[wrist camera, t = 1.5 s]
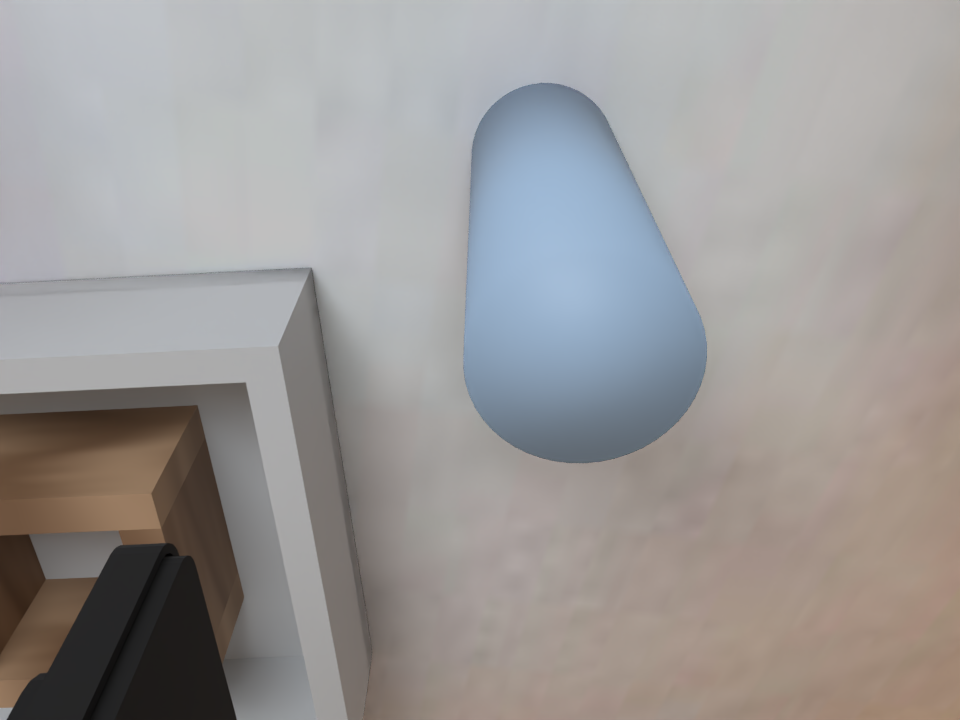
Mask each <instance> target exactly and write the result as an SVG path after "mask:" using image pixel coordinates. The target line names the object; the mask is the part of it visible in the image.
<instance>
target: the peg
mask: <svg viewBox="0 0 960 720" xmlns="http://www.w3.org/2000/svg"><path fill="white" fill-rule="evenodd" d="M706 360H707V342H706V336H705V330H704V326H703V323H702V320H701V317H700V315H699V313H698V311H697V308H696V306H695V304H694V302H693V300H692V298H691V296H690V294H689V292H688V290H687V287H686V285H685V283H684V281H683V279H682V277H681V275H680V273H679V271H678V268H677V266H676V264H675V262H674V260H673V258H672V256H671V254H670V252H669V250H668V247H667V245H666V243H665V241H664V239H663V237H662V235H661V233H660V231H659V229H658V226H657V224H656V222H655V220H654V218H653V216H652V214H651V212H650V210H649V207H648V205H647V203H646V201H645V199H644V197H643V195H642V193H641V191H640V189H639V186H638V184H637V182H636V180H635V178H634V176H633V174H632V172H631V170H630V168H629V165H628V163H627V161H626V159H625V157H624V155H623V153H622V151H621V149H620V147H619V144H618V142H617V140H616V138H615V136H614V134H613V132H612V130H611V128H610V125H609V123H608V121H607V119H606V117H605V116H604V114H603V113H602V111H601V110H600V109H599V108H598V106H597V105H596V104H595V103H594V102H593V101H592V100H590V99H589V98H588V97H587V96H585V95H584V94H582V93H580V92H579V91H577V90H575V89H572V88H570V87H567V86H563V85H559V84H552V83H539V84H531V85H528V86H524V87H521V88H518V89H516V90H513V91H512V92H510V93H508V94H506V95H505V96H503V97H502V98H501V99H499V100H498V101H497V102H496V103H495V104H494V105H493V106H492V107H491V108H490V109H489V110H488V111H487V113H486V114H485V115H484V117H483V119H482V120H481V122H480V124H479V126H478V128H477V131H476V133H475V137H474V141H473V147H472V163H471V188H470V212H469V237H468V261H467V286H466V310H465V335H464V375H465V382H466V386H467V389H468V392H469V395H470V398H471V400H472V402H473V404H474V406H475V408H476V410H477V411H478V413H479V414H480V416H481V417H482V419H483V420H484V421H485V422H486V423H487V424H488V426H489V427H490V428H491V429H492V430H493V431H494V432H495V433H497V434H498V435H499V436H500V437H501V438H502V439H504V440H505V441H507V442H508V443H510V444H511V445H513V446H514V447H516V448H518V449H520V450H522V451H524V452H526V453H529V454H531V455H534V456H537V457H540V458H544V459H548V460H552V461H558V462H566V463H591V462H600V461H605V460H610V459H615V458H618V457H621V456H624V455H627V454H630V453H632V452H634V451H637V450H639V449H641V448H643V447H645V446H647V445H648V444H650V443H652V442H653V441H655V440H657V439H658V438H659V437H661V436H662V435H663V434H665V433H666V432H667V431H668V430H669V429H670V428H671V427H672V426H674V425H675V424H676V423H677V422H678V421H679V419H680V418H681V417H682V416H683V415H684V413H685V412H686V411H687V410H688V408H689V406H690V405H691V403H692V402H693V400H694V399H695V396H696V394H697V392H698V390H699V388H700V386H701V382H702V379H703V376H704V372H705V367H706Z"/></svg>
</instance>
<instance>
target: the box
mask: <svg viewBox="0 0 960 720" xmlns="http://www.w3.org/2000/svg"><path fill="white" fill-rule="evenodd" d="M193 405H198V409H199V413H200V417H201V422H202V426H203V430H204V434H205V438H206V442H207V446H208V450H209V454H210V458H211V463H212V467H213V471H214V475H215V479H216V483H217V487H218V491H219V495H220V499H221V504H222V508H223V512H224V516H225V520H226V524H227V528H228V532H229V536H230V540H231V545H232V549H233V553H234V557H235V561H236V565H237V569H238V573H239V577H240V581H241V586H242V590H243V594H244V600H243V603H242V606H241V609H240V612H239V615H238V618H237V621H236V624H235V627H234V630H233V634H232V637H231V640H230V643H229V646H228V649H227V652H226V655H225V658H224V661H223V664H222V665H223V669H224V673H225V677H226V680H227V684H228V688H229V692H230V695H231V699H232V703H233V707H234V710H235V714H236V718H237V720H363V716H364V709H365V702H366V695H367V688H368V681H369V673H370V666H371V659H372V646H371V640H370V634H369V627H368V621H367V615H366V609H365V602H364V596H363V590H362V583H361V577H360V571H359V565H358V558H357V552H356V546H355V539H354V533H353V527H352V521H351V514H350V508H349V502H348V495H347V489H346V483H345V477H344V470H343V464H342V458H341V451H340V445H339V439H338V433H337V426H336V420H335V414H334V407H333V401H332V395H331V388H330V382H329V376H328V370H327V363H326V357H325V351H324V344H323V338H322V332H321V326H320V319H319V313H318V307H317V300H316V294H315V288H314V282H313V275H312V269H311V268H296V269H276V270H257V271H238V272H219V273H199V274H180V275H161V276H141V277H122V278H103V279H84V280H64V281H45V282H26V283H7V284H0V415H3V414H24V413H45V412H66V411H88V410H109V409H130V408H151V407H172V406H193ZM29 536H30V539H31V541H32V544H33V547H34V549H35V552H36V554H37V557H38V560H39V562H40V565H41V568H42V570H43V573H44V576H45V578H46V579H67V578H91V577H99V575H100V573H101V571H102V569H103V567H104V566H105V564H106V562H107V560H108V558H109V556H110V554H111V553H112V552H113V550H114V549H115V548H116V547H118V546H120V545H123V544H122V541H121V538H120V534H119V531H118V530H116V531H93V532H70V533H47V534H29ZM12 709H13V708H0V720H7V718H8V716H9V714H10V712H11V711H12Z"/></svg>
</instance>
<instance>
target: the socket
mask: <svg viewBox="0 0 960 720" xmlns="http://www.w3.org/2000/svg"><path fill="white" fill-rule="evenodd" d="M116 530H118V531H119V534H120V538H121V541H122V544H123V545H135V544H156V543H171V544H173V545H174V546H175V547H176V548H177V550H178V553H179V556H187V555H188V556H191V557H192V558H193V559H194V562H195V565H196V568H197V572H198V575H199V579H200V583H201V587H202V590H203V594H204V598H205V602H206V605H207V609H208V613H209V617H210V620H211V624H212V628H213V632H214V635H215V639H216V643H217V647H218V650H219V654H220V658H221V662H222V664H223V661H224V658H225V655H226V652H227V649H228V646H229V643H230V640H231V637H232V634H233V630H234V627H235V624H236V621H237V618H238V615H239V612H240V609H241V606H242V603H243V600H244V594H243V590H242V586H241V581H240V577H239V573H238V569H237V565H236V561H235V557H234V553H233V549H232V545H231V540H230V536H229V532H228V528H227V524H226V520H225V516H224V512H223V508H222V504H221V499H220V495H219V491H218V487H217V483H216V479H215V475H214V471H213V467H212V463H211V458H210V454H209V450H208V446H207V442H206V438H205V434H204V430H203V426H202V422H201V417H200V413H199V409H198V405H193V406H172V407H151V408H130V409H109V410H88V411H66V412H45V413H24V414H3V415H0V708H13V707H14V705H15V703H16V702H17V700H18V698H19V696H20V694H21V693H22V691H23V690H24V689H25V687H26V686H27V684H28V683H29V682H30V680H32V679H33V678H34V677H36V676H37V675H38V674H40V673H47V672H48V670H49V668H50V667H51V665H52V663H53V661H54V659H55V657H56V655H57V653H58V652H59V650H60V648H61V646H62V644H63V642H64V640H65V638H66V637H67V635H68V633H69V631H70V629H71V627H72V625H73V623H74V622H75V620H76V618H77V616H78V614H79V612H80V610H81V609H82V607H83V605H84V603H85V601H86V599H87V597H88V595H89V594H90V592H91V590H92V588H93V586H94V584H95V582H96V580H97V579H98V577H91V578H67V579H46V578H45V576H44V573H43V570H42V568H41V565H40V562H39V560H38V557H37V554H36V552H35V549H34V547H33V544H32V541H31V539H30V536H29V534H47V533H70V532H93V531H116Z"/></svg>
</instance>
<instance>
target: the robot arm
mask: <svg viewBox="0 0 960 720" xmlns="http://www.w3.org/2000/svg"><path fill="white" fill-rule="evenodd" d="M7 720H237V718H236V714H235V710H234V707H233V703H232V699H231V695H230V692H229V688H228V684H227V680H226V677H225V673H224V669H223V665H222V662H221V658H220V654H219V650H218V647H217V643H216V639H215V635H214V632H213V628H212V624H211V620H210V617H209V613H208V609H207V605H206V602H205V598H204V594H203V590H202V587H201V583H200V579H199V575H198V572H197V568H196V565H195V562H194V559H193V558H192V557H191V556H188V555H187V556H179V553H178V550H177V548H176V547H175V546H174V545H173V544H171V543H156V544H135V545H120V546H118V547H116V548H115V549H114V550H113V552H112V553H111V554H110V556H109V558H108V560H107V562H106V564H105V566H104V567H103V569H102V571H101V573H100V575H99V577H98V579H97V580H96V582H95V584H94V586H93V588H92V590H91V592H90V594H89V595H88V597H87V599H86V601H85V603H84V605H83V607H82V609H81V610H80V612H79V614H78V616H77V618H76V620H75V622H74V623H73V625H72V627H71V629H70V631H69V633H68V635H67V637H66V638H65V640H64V642H63V644H62V646H61V648H60V650H59V652H58V653H57V655H56V657H55V659H54V661H53V663H52V665H51V667H50V668H49V670H48V672H47V673H40V674H38V675H37V676H36V677H34V678H33V679H32V680H30V682H29V683H28V684H27V686H26V687H25V689H24V690H23V691H22V693H21V694H20V696H19V698H18V700H17V702H16V703H15V705H14V707H13V709H12V711H11V712H10V714H9V716H8V718H7Z"/></svg>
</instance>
